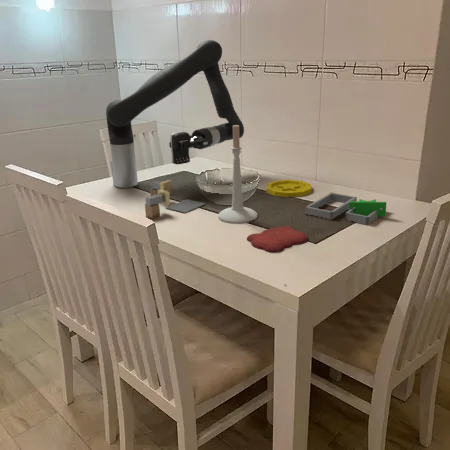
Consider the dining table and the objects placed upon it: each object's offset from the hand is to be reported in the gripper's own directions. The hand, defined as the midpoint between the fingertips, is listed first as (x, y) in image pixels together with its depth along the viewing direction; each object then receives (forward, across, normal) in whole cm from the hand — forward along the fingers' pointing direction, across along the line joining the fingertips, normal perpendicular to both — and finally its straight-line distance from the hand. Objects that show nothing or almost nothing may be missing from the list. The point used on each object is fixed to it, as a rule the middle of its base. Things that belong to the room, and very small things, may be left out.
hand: (175, 145), depth 173 cm
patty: (+15, +53, +19) cm, 59 cm away
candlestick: (+6, +32, +19) cm, 38 cm away
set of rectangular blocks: (+15, +4, +19) cm, 24 cm away
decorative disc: (-28, +31, +19) cm, 46 cm away
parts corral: (-17, +60, +18) cm, 65 cm away
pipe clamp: (-17, +66, +18) cm, 71 cm away
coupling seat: (+8, +11, +19) cm, 23 cm away
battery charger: (-3, 0, +7) cm, 8 cm away
